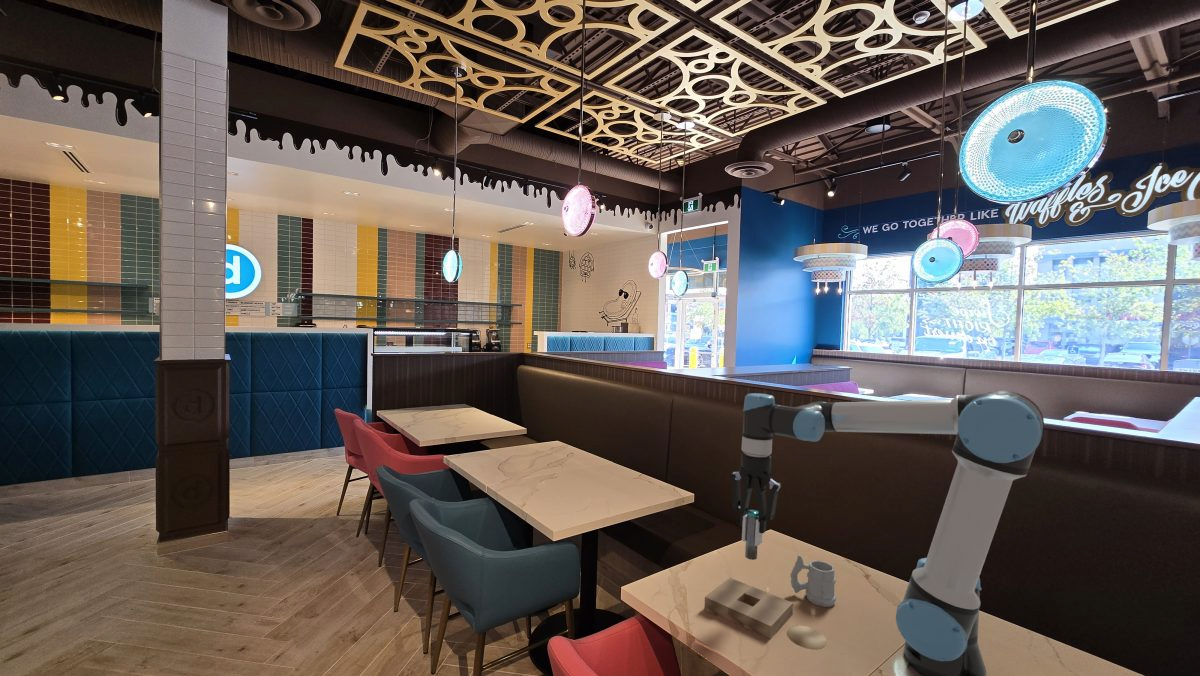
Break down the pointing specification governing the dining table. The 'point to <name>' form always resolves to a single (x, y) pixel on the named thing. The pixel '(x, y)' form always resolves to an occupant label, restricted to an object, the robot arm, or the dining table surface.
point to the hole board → (749, 607)
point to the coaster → (806, 637)
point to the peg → (751, 535)
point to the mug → (815, 582)
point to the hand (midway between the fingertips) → (751, 541)
